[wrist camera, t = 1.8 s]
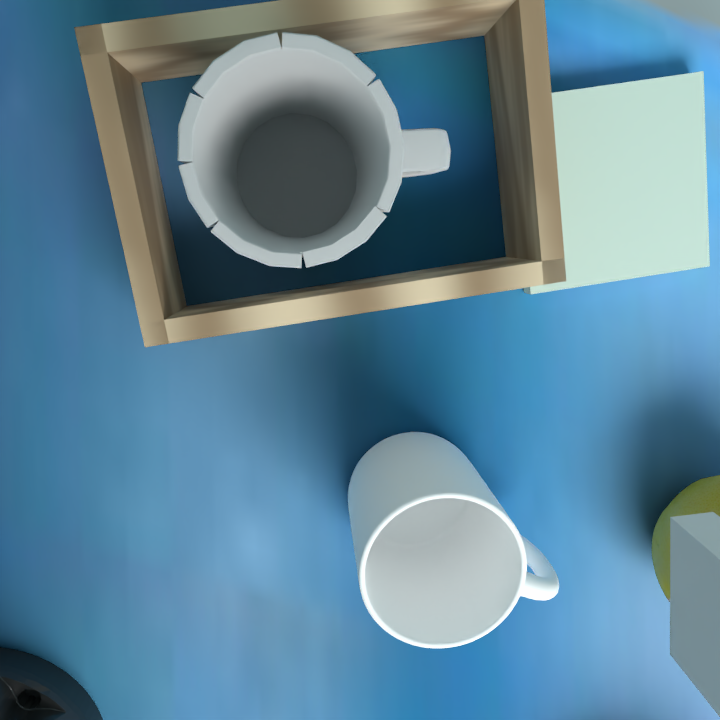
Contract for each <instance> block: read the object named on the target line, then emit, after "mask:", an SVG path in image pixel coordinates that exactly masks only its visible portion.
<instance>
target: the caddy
mask: <svg viewBox="0 0 720 720" xmlns="http://www.w3.org/2000/svg"><path fill="white" fill-rule="evenodd" d="M74 28H75V33H76V37H77V42H78V46H79V51H80V56H81V60H82V65H83V69H84V74H85V78H86V83H87V87H88V92H89V96H90V101H91V105H92V110H93V114H94V119H95V123H96V128H97V132H98V137H99V141H100V146H101V151H102V155H103V160H104V164H105V169H106V173H107V178H108V182H109V187H110V191H111V196H112V200H113V205H114V209H115V214H116V218H117V223H118V227H119V232H120V237H121V241H122V246H123V250H124V255H125V259H126V264H127V268H128V273H129V277H130V282H131V286H132V291H133V295H134V300H135V304H136V309H137V313H138V318H139V323H140V327H141V332H142V336H143V341H144V345H145V347H149V346H156V345H162V344H168V343H175V342H181V341H188V340H194V339H200V338H207V337H213V336H220V335H226V334H232V333H239V332H245V331H251V330H258V329H264V328H271V327H277V326H283V325H290V324H296V323H303V322H309V321H315V320H322V319H328V318H334V317H341V316H347V315H354V314H360V313H366V312H373V311H379V310H386V309H392V308H398V307H405V306H411V305H417V304H424V303H430V302H437V301H443V300H449V299H456V298H462V297H469V296H475V295H481V294H488V293H494V292H500V291H507V290H513V289H520V288H526V287H532V286H539V285H545V284H552V283H558V282H564V281H566V270H565V258H564V245H563V232H562V220H561V207H560V194H559V182H558V169H557V156H556V144H555V131H554V118H553V106H552V93H551V80H550V67H549V55H548V42H547V29H546V17H545V4H544V0H278V1H270V2H263V3H255V4H248V5H240V6H232V7H225V8H217V9H210V10H202V11H195V12H187V13H180V14H172V15H164V16H157V17H149V18H142V19H134V20H127V21H119V22H112V23H104V24H96V25H89V26H81V27H74ZM276 32H277V33H278V37H279V41H280V45H281V49H282V32H288V33H298V34H308V35H317V36H319V37H321V38H323V39H326V40H328V41H330V42H332V43H334V44H336V45H339V46H341V47H343V48H345V49H347V50H350V51H351V52H352V53H360V52H368V51H375V50H382V49H390V48H397V47H404V46H411V45H419V44H426V43H433V42H441V41H448V40H455V39H463V38H470V37H477V36H484V37H485V47H486V57H487V68H488V78H489V88H490V98H491V109H492V119H493V129H494V139H495V150H496V160H497V170H498V180H499V191H500V201H501V211H502V221H503V231H504V242H505V252H506V257H502V258H495V259H489V260H482V261H476V262H469V263H463V264H456V265H450V266H443V267H437V268H430V269H424V270H417V271H411V272H404V273H398V274H391V275H385V276H378V277H372V278H365V279H359V280H352V281H346V282H339V283H333V284H326V285H320V286H313V287H307V288H300V289H294V290H287V291H281V292H274V293H268V294H262V295H255V296H249V297H242V298H236V299H229V300H223V301H216V302H210V303H203V304H197V305H190V306H187V305H186V300H185V295H184V290H183V285H182V280H181V275H180V270H179V265H178V260H177V256H176V251H175V246H174V241H173V236H172V231H171V226H170V221H169V216H168V212H167V207H166V202H165V197H164V192H163V187H162V182H161V177H160V172H159V167H158V163H157V158H156V153H155V148H154V143H153V138H152V133H151V128H150V123H149V118H148V114H147V109H146V104H145V99H144V94H143V89H142V84H141V82H149V81H156V80H163V79H171V78H178V77H185V76H193V75H200V74H203V73H204V72H205V70H206V69H207V68H208V67H209V65H210V64H211V63H212V61H213V60H215V59H216V58H218V57H219V56H221V55H222V54H224V53H225V52H227V51H228V50H230V49H232V48H233V47H235V46H236V45H238V44H239V43H241V42H242V41H244V40H247V39H252V38H256V37H260V36H264V35H268V34H272V33H276Z"/></svg>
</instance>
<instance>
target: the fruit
mask: <svg viewBox="0 0 720 720" xmlns="http://www.w3.org/2000/svg"><path fill="white" fill-rule="evenodd" d="M708 512H714V513H715V514H717V515H718V516H719V517H720V475H717V476H712V477H707V478H703V479H700V480H698V481H696V482H694V483H692V484H690V485H689V486H687V487H686V488H685V489H684V490H682V491H681V492H680V493H679V494H678V495H677V496H676V497H675V498H674V499H673V500H672V501H671V503H670V504H669V505H668V506H667V507H666V508H665V509H664V511H663V512H662V514H661V515H660V517H659V519H658V521H657V523H656V525H655V528H654V532H653V537H652V559H653V565H654V569H655V573H656V576H657V579H658V582H659V584H660V586H661V588H662V590H663V592H664V594H665V596H666V598H667V599H668V600H669V602H670V517H675V516H683V515H691V514H700V513H708Z"/></svg>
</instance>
